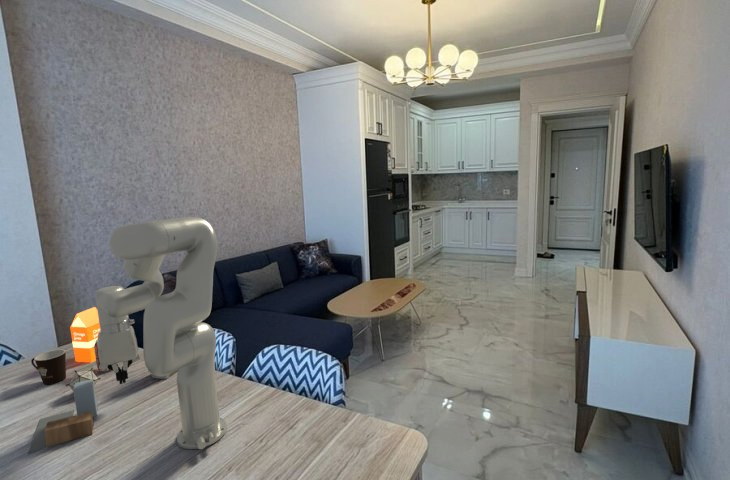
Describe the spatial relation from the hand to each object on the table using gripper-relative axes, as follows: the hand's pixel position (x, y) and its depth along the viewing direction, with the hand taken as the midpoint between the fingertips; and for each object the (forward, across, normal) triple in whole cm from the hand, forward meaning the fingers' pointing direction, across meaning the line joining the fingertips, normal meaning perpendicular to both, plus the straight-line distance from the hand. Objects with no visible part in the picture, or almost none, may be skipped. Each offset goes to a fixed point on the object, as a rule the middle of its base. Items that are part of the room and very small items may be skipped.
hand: (122, 381), depth 119 cm
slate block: (+8, +10, 0) cm, 12 cm away
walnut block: (+5, +8, +10) cm, 14 cm away
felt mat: (+8, +18, +4) cm, 20 cm away
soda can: (+8, +6, -32) cm, 33 cm away
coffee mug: (+8, +23, -34) cm, 42 cm away
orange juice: (+8, +12, -48) cm, 50 cm away
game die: (+8, +12, -16) cm, 21 cm away
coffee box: (+8, -13, -15) cm, 21 cm away
